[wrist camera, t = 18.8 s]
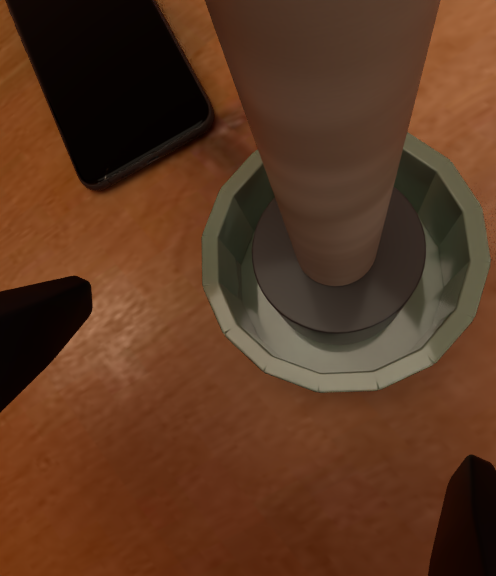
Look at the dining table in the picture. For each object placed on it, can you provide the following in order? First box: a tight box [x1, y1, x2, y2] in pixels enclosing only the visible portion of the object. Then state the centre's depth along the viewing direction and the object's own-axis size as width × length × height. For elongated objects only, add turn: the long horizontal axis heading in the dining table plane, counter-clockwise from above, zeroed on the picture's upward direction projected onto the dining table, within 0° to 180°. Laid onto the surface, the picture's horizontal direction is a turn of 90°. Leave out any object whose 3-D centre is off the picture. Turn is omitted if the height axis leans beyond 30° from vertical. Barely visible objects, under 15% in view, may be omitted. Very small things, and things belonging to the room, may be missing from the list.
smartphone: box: [5, 0, 214, 190], centre depth 24 cm, size 7×1×15 cm
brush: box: [205, 0, 440, 345], centre depth 11 cm, size 6×6×16 cm
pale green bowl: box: [202, 132, 491, 393], centre depth 17 cm, size 9×9×4 cm
